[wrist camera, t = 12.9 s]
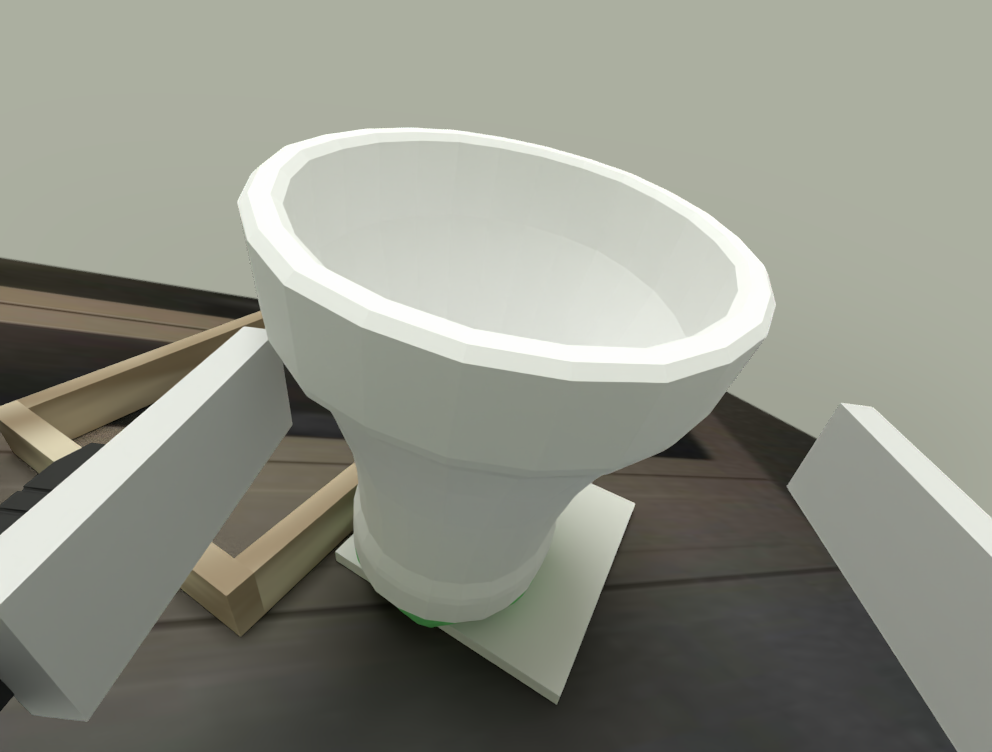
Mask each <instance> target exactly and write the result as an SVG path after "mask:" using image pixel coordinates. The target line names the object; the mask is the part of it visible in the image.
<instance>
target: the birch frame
mask: <svg viewBox="0 0 992 752" xmlns="http://www.w3.org/2000/svg"><path fill="white" fill-rule="evenodd" d="M244 326H246V327H253V328H261V329H265V325H264V321H263V317H262V313H261V311H259V312H256V313H253V314H251V315H248V316H245V317H242V318H240V319H237V320H234V321H231V322H229V323H226V324H223V325H221V326H218V327H215V328H212V329H210V330H207V331H204V332H201V333H199V334H196V335H193V336H191V337H188V338H185V339H182V340H180V341H177V342H174V343H171V344H169V345H166V346H163V347H160V348H158V349H155V350H152V351H150V352H147V353H144V354H141V355H139V356H136V357H133V358H130V359H128V360H125V361H122V362H120V363H117V364H114V365H111V366H109V367H106V368H103V369H100V370H98V371H95V372H92V373H90V374H87V375H84V376H81V377H79V378H76V379H73V380H70V381H68V382H65V383H62V384H59V385H57V386H54V387H51V388H49V389H46V390H43V391H40V392H38V393H35V394H32V395H29V396H27V397H24V398H21V399H19V400H16V401H13V402H10V403H8V404H5V405H2V406H0V431H1V433H2V435H3V436H4V438H5V440H6V441H7V443H8V445H9V446H10V448H11V450H12V451H13V453H14V454H16V455H17V456H18V457H19V458H21V459H22V460H23V461H24V462H26V463H27V464H28V465H29V466H31V467H32V468H33V469H34V470H35V471H37V472H38V473H41V472H42V471H43V470H44V469H46V468H47V467H48V466H49V465H51V464H52V463H53V462H54V461H56V460H58V459H60V458H62V457H64V456H66V455H68V454H70V453H72V452H74V451H76V450H78V449H80V448H82V447H80V446H79V445H78V444H76V443H75V442H74V441H72V439H74V438H77V437H79V436H81V435H83V434H86V433H88V432H90V431H92V430H94V429H97V428H99V427H101V426H103V425H106V424H108V423H110V422H112V421H114V420H117V419H119V418H121V417H123V416H126V415H128V414H130V413H132V412H134V411H137V410H139V409H141V408H143V407H146V406H148V405H150V404H152V403H154V402H156V401H157V400H159V399H160V398H161V397H162V396H163V395H164V394H166V393H167V392H168V391H169V390H170V389H171V388H173V387H174V386H175V385H176V384H177V383H178V382H180V381H181V380H182V379H183V378H184V377H185V376H187V375H188V374H189V373H190V372H191V371H192V370H194V369H195V368H196V367H197V366H198V365H199V364H201V363H202V362H203V361H204V360H205V359H206V358H208V357H209V356H210V355H211V354H212V353H213V352H215V351H216V350H217V349H218V348H219V347H220V346H222V345H223V344H224V343H225V342H226V341H227V340H229V339H230V338H231V337H232V336H233V335H234V334H236V333H237V332H238V331H239V330H240V329H241V328H243V327H244ZM357 486H358V475H357V469H356V465H355V462H354V463H353V464H352V465H351V466H349V467H348V468H347V469H346V470H344V471H343V472H342V473H341V474H339V475H338V476H337V477H335V478H334V479H333V480H332V481H330V482H329V483H328V484H327V485H325V486H324V487H323V488H322V489H320V490H319V491H318V492H317V493H315V494H314V495H313V496H312V497H310V498H309V499H308V500H307V501H305V502H304V503H303V504H302V505H300V506H299V507H298V508H297V509H295V510H294V511H293V512H292V513H290V514H289V515H288V516H287V517H285V518H284V519H283V520H282V521H280V522H279V523H278V524H277V525H275V526H274V527H273V528H272V529H270V530H269V531H268V532H267V533H265V534H264V535H263V536H262V537H260V538H259V539H258V540H257V541H255V542H254V543H253V544H252V545H250V546H249V547H248V548H247V549H245V550H244V551H243V552H242V553H240V554H239V555H238V556H236V557H235V558H233V557H232V556H230V555H229V554H227V553H226V552H225V551H223V550H222V549H221V548H219V547H218V546H216V545H215V544H214V543H212V542H211V543H210V545H209V546H208V548H207V549H206V551H205V552H204V554H203V555H202V556H201V558H200V559H199V561H198V562H197V564H196V565H195V567H194V568H193V569H192V571H191V572H190V574H189V575H188V577H187V578H186V580H185V581H184V583H183V584H182V585H181V587H180V588H181V589H182V590H183V591H185V592H186V593H187V594H188V595H190V596H191V597H192V598H193V599H194V600H196V601H197V602H198V603H199V604H201V605H202V606H203V607H204V608H206V609H207V610H208V611H209V612H210V613H212V614H213V615H214V616H215V617H217V618H218V619H219V620H220V621H222V622H223V623H224V624H225V625H226V626H228V627H229V628H230V629H231V630H233V631H234V632H235V633H236V634H238V635H239V636H240V637H241V636H242V635H243V634H244V633H245V632H246V631H248V630H249V629H250V628H251V627H252V626H253V625H254V624H255V623H256V622H257V621H258V620H259V619H260V618H261V617H262V616H263V615H264V614H265V613H266V612H268V611H269V610H270V609H271V608H272V607H273V606H274V605H275V604H276V603H277V602H278V601H279V600H280V599H281V598H282V597H283V596H284V595H285V594H286V593H287V592H289V591H290V590H291V589H292V588H293V587H294V586H295V585H296V584H297V583H298V582H299V581H300V580H301V579H302V578H303V577H304V576H305V575H306V574H307V573H308V572H310V571H311V570H312V569H313V568H314V567H315V566H316V565H317V564H318V563H319V562H320V561H321V560H322V559H323V558H324V557H325V556H326V555H327V554H328V553H329V552H331V551H332V550H333V549H334V548H335V547H336V546H337V545H338V544H339V543H340V542H341V541H342V540H343V539H344V538H345V537H346V536H347V535H348V534H349V533H350V532H352V531H353V530H354V529H353V512H354V496H355V493H356V489H357Z"/></svg>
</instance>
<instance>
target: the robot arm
mask: <svg viewBox="0 0 992 752" xmlns="http://www.w3.org/2000/svg"><path fill="white" fill-rule="evenodd" d="M291 426H292V418H291V412H290V406H289V400H288V393H287V387H286V381H285V374H284V368H283V362H282V360H281V358H280V357H279V355H278V354H277V352H276V351H275V349H274V348H273V346H272V345H271V343H270V342H269V340H268V337H267V333H266V329H261V328H253V327H246V326H244V327H243V328H241V329H240V330H239V331H238V332H237V333H236V334H234V335H233V336H232V337H231V338H230V339H229V340H227V341H226V342H225V343H224V344H223V345H222V346H220V347H219V348H218V349H217V350H216V351H215V352H213V353H212V354H211V355H210V356H209V357H208V358H206V359H205V360H204V361H203V362H202V363H201V364H199V365H198V366H197V367H196V368H195V369H194V370H192V371H191V372H190V373H189V374H188V375H187V376H185V377H184V378H183V379H182V380H181V381H180V382H178V383H177V384H176V385H175V386H174V387H173V388H171V389H170V390H169V391H168V392H167V393H166V394H164V395H163V396H162V397H161V398H160V399H159V400H157V401H156V402H155V403H154V404H153V405H152V406H150V407H149V408H148V409H147V410H146V411H144V412H143V413H142V414H141V415H140V416H139V417H137V418H136V419H135V420H134V421H133V422H132V423H130V424H129V425H128V426H127V427H126V428H125V429H123V430H122V431H121V432H120V433H119V434H118V435H116V436H115V437H114V438H113V439H112V440H111V441H109V442H108V443H107V444H98V443H90V444H88V445H86V446H84V447H82V448H80V449H78V450H76V451H74V452H72V453H70V454H68V455H66V456H64V457H62V458H60V459H58V460H56V461H54V462H53V463H52V464H51V465H49V466H48V467H47V468H46V469H44V470H43V471H42V472H41V473H39V474H38V475H37V476H36V477H34V478H33V479H32V480H31V481H29V482H28V483H27V484H26V485H24V489H23V490H22V491H17V492H15V493H14V494H13V495H12V496H10V497H9V498H8V499H7V500H5V501H4V502H3V503H2V504H0V711H1V710H2V709H3V708H4V706H5V705H6V704H7V703H8V702H9V700H10V699H11V698H12V697H13V696H14V697H15V698H16V699H17V700H18V701H19V702H20V703H21V704H22V705H23V706H24V707H25V708H26V709H27V710H28V711H29V712H30V713H31V714H32V715H35V716H44V717H52V718H61V719H69V720H78V721H87V722H88V720H89V719H90V717H91V716H92V714H93V713H94V712H95V710H96V709H97V707H98V706H99V704H100V703H101V701H102V700H103V699H104V697H105V696H106V694H107V693H108V691H109V690H110V688H111V687H112V685H113V684H114V683H115V681H116V680H117V678H118V677H119V675H120V674H121V672H122V671H123V670H124V668H125V667H126V665H127V664H128V662H129V661H130V659H131V658H132V656H133V655H134V654H135V652H136V651H137V649H138V648H139V646H140V645H141V643H142V642H143V641H144V639H145V638H146V636H147V635H148V633H149V632H150V630H151V629H152V627H153V626H154V625H155V623H156V622H157V620H158V619H159V617H160V616H161V614H162V613H163V612H164V610H165V609H166V607H167V606H168V604H169V603H170V601H171V600H172V598H173V597H174V596H175V594H176V593H177V591H178V590H179V588H180V587H181V585H182V584H183V583H184V581H185V580H186V578H187V577H188V575H189V574H190V572H191V571H192V569H193V568H194V567H195V565H196V564H197V562H198V561H199V559H200V558H201V556H202V555H203V554H204V552H205V551H206V549H207V548H208V546H209V545H210V543H211V542H212V540H213V539H214V538H215V536H216V535H217V533H218V532H219V530H220V529H221V527H222V526H223V525H224V523H225V522H226V520H227V519H228V517H229V516H230V514H231V513H232V511H233V510H234V509H235V507H236V506H237V504H238V503H239V501H240V500H241V498H242V497H243V496H244V494H245V493H246V491H247V490H248V488H249V487H250V485H251V484H252V482H253V481H254V480H255V478H256V477H257V475H258V474H259V472H260V471H261V469H262V468H263V467H264V465H265V464H266V462H267V461H268V459H269V458H270V456H271V455H272V453H273V452H274V451H275V449H276V448H277V446H278V445H279V443H280V442H281V440H282V439H283V437H284V436H285V435H286V433H287V432H288V430H289V429H290V427H291ZM787 488H788V490H789V491H790V493H791V494H792V496H793V497H794V499H795V500H796V502H797V504H798V505H799V507H800V508H801V510H802V511H803V513H804V514H805V516H806V517H807V519H808V521H809V522H810V524H811V525H812V527H813V528H814V530H815V531H816V533H817V535H818V536H819V538H820V539H821V541H822V542H823V544H824V545H825V547H826V549H827V550H828V552H829V553H830V555H831V556H832V558H833V559H834V561H835V563H836V564H837V566H838V567H839V569H840V570H841V572H842V573H843V575H844V576H845V578H846V580H847V581H848V583H849V584H850V586H851V587H852V589H853V590H854V592H855V594H856V595H857V597H858V598H859V600H860V601H861V603H862V604H863V606H864V608H865V609H866V611H867V612H868V614H869V615H870V617H871V618H872V620H873V622H874V623H875V625H876V626H877V628H878V629H879V631H880V632H881V634H882V635H883V637H884V639H885V640H886V642H887V643H888V645H889V646H890V648H891V649H892V651H893V653H894V654H895V656H896V657H897V659H898V660H899V662H900V663H901V665H902V667H903V668H904V670H905V671H906V673H907V674H908V676H909V677H910V679H911V681H912V682H913V684H914V685H915V687H916V688H917V690H918V691H919V693H920V694H921V696H922V698H923V699H924V701H925V702H926V704H927V705H928V707H929V708H930V710H931V712H932V713H933V715H934V716H935V718H936V719H937V721H938V722H939V724H940V726H941V727H942V729H943V730H944V732H945V733H946V735H947V736H948V738H949V740H950V741H951V743H952V744H953V746H954V747H955V749H956V750H957V752H992V518H991V517H990V516H989V515H988V514H987V513H986V512H984V511H983V510H982V509H981V508H980V507H979V506H978V505H977V504H976V503H975V502H974V501H973V500H972V499H971V498H970V497H968V496H967V495H966V494H965V493H964V492H963V491H962V490H961V489H960V488H959V487H958V486H957V485H956V484H955V483H954V482H952V481H951V480H950V479H949V478H948V477H947V476H946V475H945V474H944V473H943V472H942V471H940V469H939V468H937V467H936V466H935V465H934V464H933V463H932V462H931V461H930V460H929V459H928V458H927V457H926V456H925V455H924V454H922V453H921V452H920V451H919V450H918V449H917V448H916V447H915V446H914V445H913V444H912V443H911V442H910V441H909V440H908V439H906V438H905V437H904V436H903V435H902V434H901V433H900V432H899V431H898V430H897V429H895V427H894V426H892V425H891V424H890V423H889V422H888V421H887V420H886V419H885V418H884V417H883V416H882V415H881V414H880V413H879V412H878V411H877V410H875V409H874V408H873V407H868V406H861V405H853V404H846V403H840V405H839V406H838V407H837V409H836V410H835V412H834V414H833V415H832V417H831V418H830V420H829V421H828V423H827V424H826V426H825V428H824V429H823V431H822V432H821V434H820V435H819V437H818V438H817V440H816V442H815V443H814V445H813V446H812V448H811V449H810V451H809V453H808V454H807V456H806V457H805V459H804V460H803V462H802V463H801V465H800V467H799V468H798V470H797V471H796V473H795V474H794V476H793V477H792V479H791V481H790V482H789V484H788V485H787Z"/></svg>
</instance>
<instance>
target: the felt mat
mask: <svg viewBox="0 0 992 752" xmlns="http://www.w3.org/2000/svg"><path fill="white" fill-rule="evenodd" d="M634 506H635V503H633V502H631V501H628V500H626V499H624V498H622V497H620V496H617V495H615V494H613V493H611V492H609V491H607V490H604V489H602V488H600V487H598V486H596V485H593V484H591V483H590V484H589V485H588V486H587V487H586V488H584V489H583V490H582V491H581V492H579V493H578V494H577V495H576V496H575V497H574V498H573V499H572V501H571V502H570V503H569V504H568V506H567V507H566V508H565V509H564V511H563V512H562V513H561V514H560V516H559V517H558V518H557V520H556V527H555V531H554V534H553V538H552V541H551V544H550V548H549V551H548V553H547V555H546V557H545V559H544V561H543V563H542V565H541V567H540V569H539V570H538V572H537V574H536V575H535V577H534V579H533V581H532V583H531V585H530V586H529V587H528V589H527V590H526V592H525V593H524V594H523V596H522V597H521V598H520V599H519V600H517V601H516V602H515V603H514V604H512V605H510V606H508V607H506V608H505V609H503V610H501V611H499V612H497V613H495V614H493V615H491V616H489V617H487V618H486V619H484V620H477V621H468V622H460V623H456V624H451V625H444V626H437V627H438V628H440V629H442V630H443V631H445V632H446V633H448V634H449V635H451V636H452V637H454V638H455V639H457V640H458V641H460V642H461V643H463V644H464V645H466V646H468V647H469V648H471V649H472V650H474V651H475V652H477V653H478V654H480V655H481V656H483V657H484V658H486V659H487V660H489V661H490V662H492V663H494V664H495V665H497V666H498V667H500V668H501V669H503V670H504V671H506V672H507V673H509V674H510V675H512V676H513V677H515V678H516V679H518V680H520V681H521V682H523V683H524V684H526V685H527V686H529V687H530V688H532V689H533V690H535V691H536V692H538V693H539V694H541V695H542V696H544V697H546V698H547V699H549V700H550V701H552V702H553V703H555V704H556V705H557V703H558V701H559V698H560V696H561V693H562V691H563V688H564V686H565V683H566V681H567V678H568V675H569V673H570V670H571V668H572V665H573V663H574V660H575V657H576V655H577V652H578V650H579V647H580V645H581V642H582V639H583V637H584V634H585V632H586V629H587V627H588V624H589V621H590V619H591V616H592V614H593V611H594V609H595V606H596V603H597V601H598V598H599V596H600V593H601V591H602V588H603V585H604V583H605V580H606V578H607V575H608V573H609V570H610V567H611V565H612V562H613V560H614V557H615V555H616V552H617V550H618V547H619V544H620V542H621V539H622V537H623V534H624V532H625V529H626V526H627V524H628V521H629V519H630V516H631V514H632V511H633V508H634ZM335 555H336V561H338V562H339V563H341V564H342V565H344V566H345V567H347V568H348V569H350V570H351V571H353V572H354V573H356V574H357V575H359V576H361V577H362V578H364V579H365V580H367V581H368V582H370V581H369V580H368V578H367V576H366V575H365V573H364V571H363V570H362V568H361V565H360V563H359V561H358V559H357V555H356V550H355V545H354V534H353V535H352V536H351V537H350V538H348V539H347V540H346V541H345V542H344V543H343V544H342V545H341V546H340V547H339V548H338V549H337V550H336V551H335Z"/></svg>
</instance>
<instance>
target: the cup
mask: <svg viewBox="0 0 992 752" xmlns="http://www.w3.org/2000/svg"><path fill="white" fill-rule="evenodd" d="M237 204H238V209H239V213H240V218H241V223H242V227H243V232H244V236H245V241H246V246H247V251H248V255H249V260H250V264H251V269H252V274H253V278H254V283H255V288H256V292H257V297H258V301H259V305H260V309H261V313H262V317H263V321H264V325H265V329H266V333H267V337H268V340H269V342H270V343H271V345H272V346H273V348H274V349H275V351H276V352H277V354H278V355H279V357H280V358H281V360H282V361H283V363H284V364H285V365H286V367H287V368H288V370H289V371H290V373H291V374H292V376H293V377H294V378H295V380H296V381H297V383H298V384H299V386H300V387H301V388H302V390H303V391H304V393H305V394H306V396H307V397H309V398H310V399H312V400H314V401H315V402H317V403H318V404H320V405H322V406H323V407H325V408H326V409H328V410H330V411H331V413H332V414H333V416H334V418H335V420H336V422H337V424H338V426H339V428H340V430H341V432H342V434H343V436H344V438H345V440H346V442H347V443H348V445H349V447H350V449H351V451H352V453H353V457H354V461H355V465H356V469H357V475H358V486H357V489H356V493H355V496H354V512H353V529H354V545H355V550H356V555H357V559H358V561H359V563H360V565H361V568H362V570H363V571H364V573H365V575H366V576H367V578H368V580H369V581H370V583H371V584H372V586H373V588H374V589H375V591H376V592H377V593H379V594H380V595H381V596H383V597H384V598H385V599H387V600H388V601H389V602H391V603H392V604H393V605H395V606H396V607H397V608H398V609H399V610H400V611H402V612H403V613H404V614H405V615H407V616H408V617H409V618H411V619H412V620H413V621H414V622H416V623H417V624H419V625H423V626H427V627H430V628H432V627H437V626H444V625H451V624H456V623H460V622H468V621H477V620H484V619H486V618H487V617H489V616H491V615H493V614H495V613H497V612H499V611H501V610H503V609H505V608H506V607H508V606H510V605H512V604H514V603H515V602H516V601H517V600H519V599H520V598H521V597H522V596H523V594H524V593H525V592H526V590H527V589H528V587H529V586H530V585H531V583H532V581H533V579H534V577H535V575H536V574H537V572H538V570H539V569H540V567H541V565H542V563H543V561H544V559H545V557H546V555H547V553H548V551H549V548H550V544H551V541H552V538H553V534H554V531H555V527H556V520H557V518H558V517H559V516H560V514H561V513H562V512H563V511H564V509H565V508H566V507H567V506H568V504H569V503H570V502H571V501H572V499H573V498H574V497H575V496H576V495H577V494H578V493H579V492H581V491H582V490H583V489H584V488H586V487H587V486H588V485H589V484H590V483H592V482H593V481H594V480H595V479H597V478H598V477H600V476H602V475H606V474H610V473H612V472H614V471H617V470H619V469H622V468H624V467H626V466H629V465H631V464H634V463H636V462H638V461H641V460H643V459H646V458H648V457H650V456H653V455H655V454H658V453H660V452H662V451H664V450H666V449H667V448H669V447H670V446H672V445H673V444H675V443H676V442H677V441H678V440H679V439H681V438H682V437H683V436H684V435H685V434H686V433H688V432H689V431H690V430H691V429H692V428H693V427H695V426H696V425H697V424H698V423H699V422H701V421H702V420H703V419H704V418H705V417H706V416H708V415H709V414H710V413H711V411H712V410H713V408H714V407H715V406H716V404H717V403H718V402H719V400H720V399H721V398H722V396H723V395H724V394H725V392H726V391H727V390H728V388H729V387H730V385H731V384H732V383H733V381H734V380H735V379H736V377H737V376H738V374H739V373H740V372H741V371H742V369H743V368H744V366H745V365H746V364H747V362H748V361H749V360H750V358H751V357H752V356H753V354H754V353H755V351H756V350H757V349H758V348H759V346H760V345H761V344H762V342H763V341H764V339H765V338H766V336H767V335H768V331H769V327H770V324H771V320H772V317H773V313H774V310H775V306H776V303H775V299H774V295H773V292H772V288H771V284H770V280H769V276H768V273H767V271H766V268H765V266H764V265H763V264H762V263H761V261H760V260H758V258H757V257H756V256H755V255H754V254H753V253H752V252H751V250H750V249H749V248H748V247H747V246H746V245H745V244H744V243H743V242H742V241H741V240H740V238H738V237H737V236H736V235H735V234H733V233H732V232H731V231H729V230H728V229H727V228H726V227H724V226H723V225H722V224H721V223H719V222H718V221H717V220H716V219H714V218H713V217H712V216H710V215H709V214H708V213H706V212H705V211H703V210H701V209H699V208H698V207H695V206H694V205H692V204H691V203H689V202H687V201H685V200H684V199H682V198H680V197H679V196H677V195H675V194H673V193H672V192H670V191H668V190H666V189H663V188H661V187H659V186H657V185H655V184H653V183H651V182H648V181H646V180H644V179H642V178H640V177H638V176H636V175H634V174H631V173H629V172H626V171H623V170H620V169H617V168H614V167H611V166H608V165H606V164H603V163H600V162H597V161H594V160H591V159H588V158H584V157H581V156H578V155H574V154H571V153H567V152H563V151H560V150H557V149H553V148H549V147H546V146H541V145H536V144H532V143H527V142H522V141H518V140H513V139H508V138H503V137H498V136H491V135H485V134H478V133H472V132H464V131H457V130H445V129H426V128H378V129H361V130H354V131H347V132H340V133H334V134H327V135H322V136H318V137H315V138H311V139H308V140H305V141H301V142H297V143H294V144H291V145H287V146H285V147H283V148H282V149H281V150H279V151H278V152H277V153H276V154H274V155H273V156H272V157H271V158H269V159H268V160H267V161H265V162H264V163H263V164H262V165H260V166H259V167H258V168H257V169H256V170H254V171H253V172H252V173H251V175H250V177H249V179H248V181H247V183H246V185H245V187H244V189H243V191H242V193H241V195H240V197H239V199H238V201H237Z"/></svg>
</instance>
